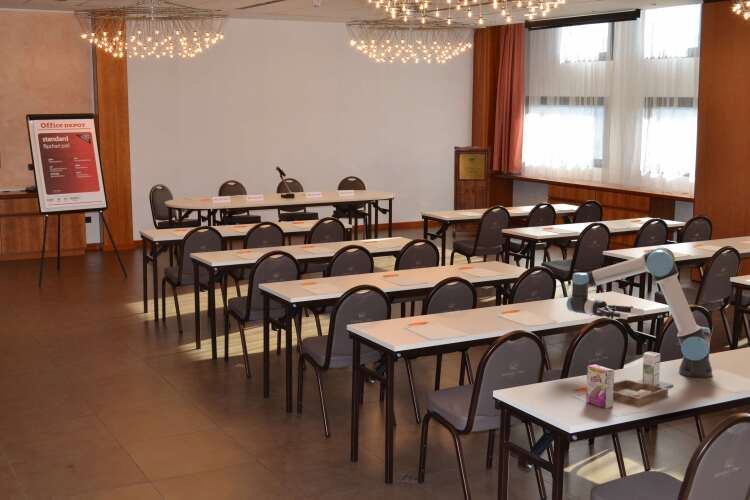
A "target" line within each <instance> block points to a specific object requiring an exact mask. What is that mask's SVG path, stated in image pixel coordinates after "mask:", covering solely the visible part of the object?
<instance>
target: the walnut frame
mask: <svg viewBox="0 0 750 500" xmlns="http://www.w3.org/2000/svg"><path fill="white" fill-rule="evenodd" d="M637 381H638V380H637ZM637 381H636V380H631V379H629V378H628V379H627V378H624V379H621V380H618V381H615V382H614V387H613V401H618V402H621V403H626V404H630V405H634V406H637V407H640V406H643V405H645V404H648V403H651V402H652V403H653V402H654V401H657V400H659V399H662V398H666V397H668V396H669V388H663V387H658V386H654V385H650V384H645V383H641V382H637ZM625 388H629V389H633V390H637V391H639V390H646V391H652V393H649V394H646V395H643V396H640V397H635V396H633V395H630V394H627V393H622V392H618V391H619V390H622V389H625ZM615 390H616V391H615Z"/></svg>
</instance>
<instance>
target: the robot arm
mask: <svg viewBox="0 0 750 500" xmlns="http://www.w3.org/2000/svg"><path fill="white" fill-rule="evenodd" d="M646 272H648V273H650V275H651V276H652V278H653V280H654V283H656V284H658V285H659V287H660V290H661V292H662V294H663V296H664V299H665V301H666V304H667V306H668V309H669V311H670V314H671V316H672V318H673V321H674V323H675V325H676V329H677V330H678V332H677V335H676V336H677V339H678V341H679V344H680V349H681V353H682V354H683V357H682V360H681V361H680V365H679V368H678V372H679V374H680V375H683V376H686V377H691V378H707V377H706V376H710V375H712V376H713V369H712V368H713V367H712V365H711V361H710V349H711V348H710V347H711V346H710V344H711V334H712V333H711V329H710V328H709V327H705V326H700V325H699V324H697V323H696V320H695V318H694V314H693V312H692V310H691V308H690V305H689V303H688V300H687V298H686V296H685V293H684V291H683V289H682V286H681V284H680V281H679V279H678V276H679V275H680V274H679V272H680V271H679V270H678V267H677V265H676V257H675V255H674V252H673V251H672V250H671V249H670V248H667V247H658V248H655V249H654V250H651V251H649V252H645V253H643V255H641V256H639V257H635V258H632V259H629V260H625V261H622V262H618V263H616V264H612V265H607V266H603V267H602V268H598V269H595V270H594V269H593V270H591V271H587V272H574V273H573V274H572V279H571V281H572V283H571V284H572V287H571V288H572V289H571V290H572V294H571V295H570V296H568V298H567V301H566V309H568V311H569V312H574V313H577V314H578V313H579V314H585V315H590V317H593V316H596V317H600V318H601V317H607V318H610V319H612V320H613V319H614V318H617V319H622V320H628V313H629V314H631V315H638V316H645V315H644V313H645V310H644V308H643V309H642V308H635V307H634V306H633V305H630V306H626V305H625V306H624V305H615V304H613V305H611V304H609V305H608V304H607V301H605V300H598V299H592V298H589V289H590V288H592V287H596V286H600V285H603V284H606V283H610V282H614V281H617V280H621V279H624V278H627V277H631V276H636V275H638V274H642V273H646ZM710 377H711V376H710Z"/></svg>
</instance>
